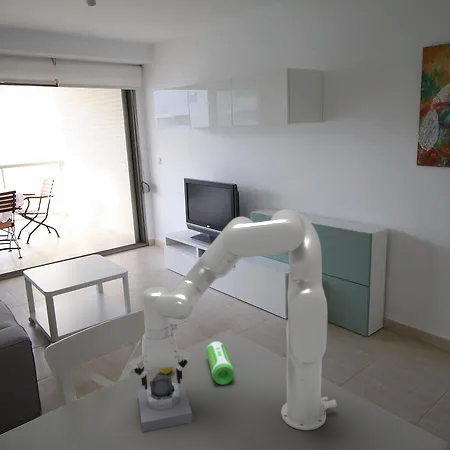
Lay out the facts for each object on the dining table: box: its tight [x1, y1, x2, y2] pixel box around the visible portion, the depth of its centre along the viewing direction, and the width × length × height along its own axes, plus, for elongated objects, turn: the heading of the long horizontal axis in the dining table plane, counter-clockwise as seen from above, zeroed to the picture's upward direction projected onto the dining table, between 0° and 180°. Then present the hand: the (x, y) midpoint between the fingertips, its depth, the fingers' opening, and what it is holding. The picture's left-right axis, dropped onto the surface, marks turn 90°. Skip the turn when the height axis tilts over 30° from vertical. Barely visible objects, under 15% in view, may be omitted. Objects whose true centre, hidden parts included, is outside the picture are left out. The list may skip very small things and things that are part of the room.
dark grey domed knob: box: [149, 374, 173, 398], centre depth 125 cm, size 6×5×7 cm
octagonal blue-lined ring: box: [147, 381, 180, 411], centre depth 125 cm, size 9×9×4 cm
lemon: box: [158, 366, 174, 375], centre depth 144 cm, size 6×6×8 cm
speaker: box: [205, 340, 235, 385], centre depth 145 cm, size 18×7×8 cm, turn 10°
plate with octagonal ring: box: [137, 381, 193, 433], centre depth 126 cm, size 14×16×3 cm
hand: (162, 384), depth 125 cm, fingers open, 9 cm apart
